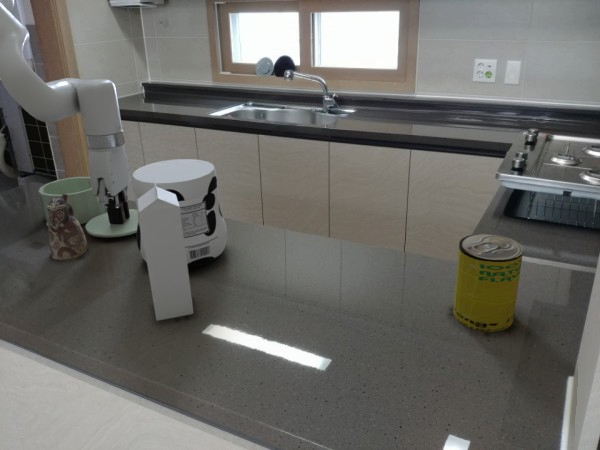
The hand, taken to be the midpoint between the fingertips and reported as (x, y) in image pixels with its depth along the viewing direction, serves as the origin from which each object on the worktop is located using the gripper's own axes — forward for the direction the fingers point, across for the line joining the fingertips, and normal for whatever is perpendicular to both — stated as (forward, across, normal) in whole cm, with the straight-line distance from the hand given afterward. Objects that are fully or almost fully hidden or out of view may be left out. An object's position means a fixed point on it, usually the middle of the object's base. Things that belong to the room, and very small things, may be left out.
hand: (119, 220), depth 120 cm
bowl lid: (+1, 0, 0) cm, 1 cm away
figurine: (+2, +12, -6) cm, 14 cm away
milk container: (+2, +13, +19) cm, 23 cm away
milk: (+2, +32, +23) cm, 39 cm away
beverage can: (+2, +31, +73) cm, 79 cm away
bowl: (+2, -8, -15) cm, 17 cm away
